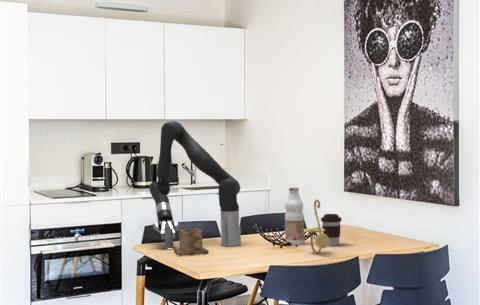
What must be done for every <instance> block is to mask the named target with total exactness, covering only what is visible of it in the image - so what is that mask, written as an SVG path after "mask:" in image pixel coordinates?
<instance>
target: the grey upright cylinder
mask: <svg viewBox="0 0 480 305" xmlns="http://www.w3.org/2000/svg"><path fill="white" fill-rule="evenodd" d="M173 229H174V228H173ZM173 229H172V228H163V230H164V236H165V242H163V249H164V248H165V249H168V248H173V249H174V242H173ZM165 249H164V250H165Z"/></svg>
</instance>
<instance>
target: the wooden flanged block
mask: <svg viewBox="0 0 480 305" xmlns="http://www.w3.org/2000/svg"><path fill="white" fill-rule="evenodd" d="M178 235H179V239H178V241H179V242H178V243H179V247H178V248H173V253H174V254H176V255H177V256H178V255H179V256H178V257H183V256H182V255H189V256H196V255H195V254H202V255H209V253H210V252H209V250H208V249H207V248H205V247H204V246H203V231H202V230H201V229H199V228H191V229H190V228H189V229H179V230H178Z"/></svg>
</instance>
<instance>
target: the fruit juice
mask: <svg viewBox="0 0 480 305" xmlns="http://www.w3.org/2000/svg"><path fill="white" fill-rule="evenodd" d="M288 191H289V194H288V197H287V199H286V201H285V203H284V204H285V205H284V209H285V214H284V226H285V227H284V228H285V230H284V232H285V234H284V236H285V237H284V238H285V240H286V241H287V242H290V243H292V244H291V246H299V245H300V246H301V245H304V244H305V231H304V230H305V219H304V218H305V215H304V212H303V209H304V203H303V201H302V199H301V197H300V193H299V191H300V188H299V187H289V188H288Z"/></svg>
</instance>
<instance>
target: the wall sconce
mask: <svg viewBox="0 0 480 305" xmlns="http://www.w3.org/2000/svg"><path fill="white" fill-rule="evenodd" d="M320 208H321V202H320V200H319V199H318V198H317V199H315V200H314V202H313V210H314V216H315V218H316V222H317V227H318V228H316V227H315V228H314V227H313V228H304V232H308V233H311V234H310V246H311V250H312V251H313V253H314V254H316V255H318V254H320V253H321V250H322V249H325V248H327V247H329V246H328V244H329V237H328V236H327V235H326V234H323V231H325V229H322V228H321V227H322V226H321V224H320V219H319V215H318V211H317V209H320ZM313 240H314V241H313ZM314 243H315V245H316V247H317V248H318V251H316V249H315V247H314Z"/></svg>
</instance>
